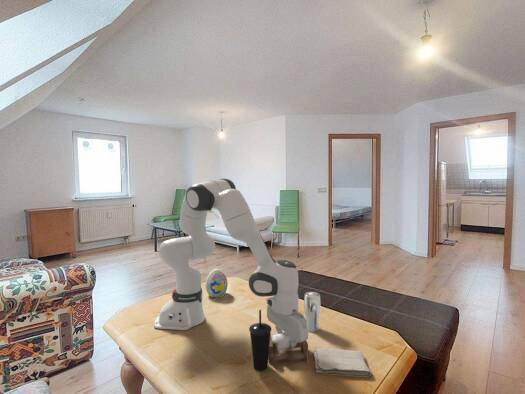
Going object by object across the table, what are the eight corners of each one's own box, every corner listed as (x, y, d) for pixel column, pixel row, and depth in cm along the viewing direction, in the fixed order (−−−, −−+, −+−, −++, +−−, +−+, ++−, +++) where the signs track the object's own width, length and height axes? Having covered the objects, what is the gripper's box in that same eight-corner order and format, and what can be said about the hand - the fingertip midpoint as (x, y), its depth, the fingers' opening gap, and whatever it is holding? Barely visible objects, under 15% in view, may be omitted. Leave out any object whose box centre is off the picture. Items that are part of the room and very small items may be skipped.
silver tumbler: (310, 322, 125) (310, 290, 124) (323, 328, 120) (323, 294, 119) (300, 328, 120) (300, 294, 119) (314, 334, 115) (314, 299, 114)
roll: (280, 350, 97) (276, 334, 99) (274, 351, 101) (271, 335, 103) (302, 344, 101) (298, 328, 103) (295, 345, 105) (292, 330, 107)
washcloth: (312, 353, 103) (312, 345, 103) (361, 356, 102) (362, 348, 101) (315, 375, 91) (315, 366, 91) (371, 379, 90) (371, 369, 90)
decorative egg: (205, 300, 150) (205, 273, 149) (205, 291, 162) (205, 266, 161) (228, 298, 152) (228, 271, 151) (226, 289, 164) (226, 265, 163)
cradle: (268, 363, 97) (268, 346, 97) (266, 347, 106) (266, 332, 106) (307, 361, 98) (307, 344, 98) (302, 346, 107) (302, 331, 107)
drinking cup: (249, 360, 99) (248, 305, 98) (270, 359, 100) (269, 304, 98) (249, 375, 91) (249, 316, 90) (272, 373, 92) (272, 315, 91)
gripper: (312, 313, 94) (312, 353, 95) (276, 294, 111) (276, 327, 112) (298, 319, 91) (298, 359, 92) (263, 297, 108) (263, 332, 109)
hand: (286, 341), depth 102 cm, fingers closed on roll, 6 cm apart
